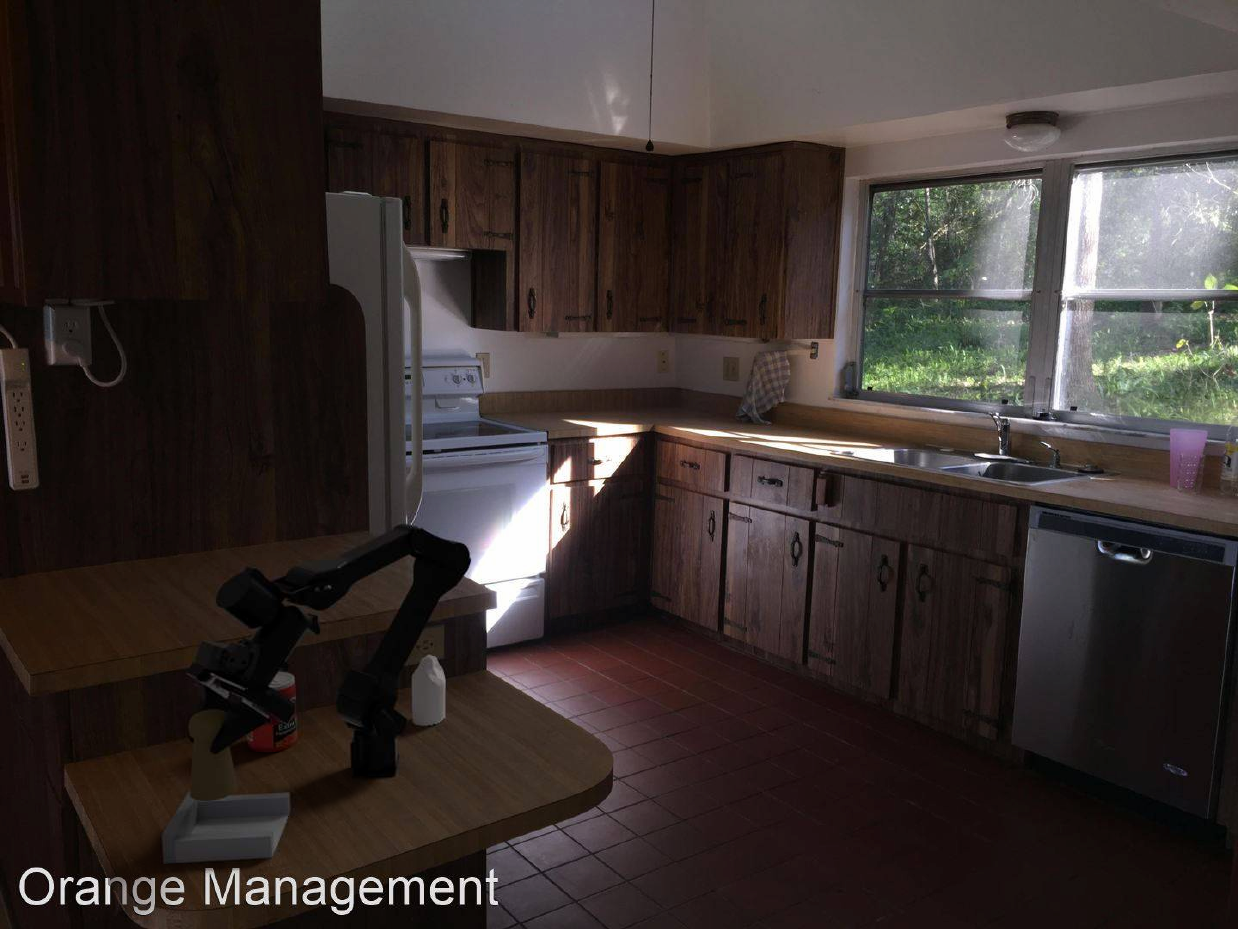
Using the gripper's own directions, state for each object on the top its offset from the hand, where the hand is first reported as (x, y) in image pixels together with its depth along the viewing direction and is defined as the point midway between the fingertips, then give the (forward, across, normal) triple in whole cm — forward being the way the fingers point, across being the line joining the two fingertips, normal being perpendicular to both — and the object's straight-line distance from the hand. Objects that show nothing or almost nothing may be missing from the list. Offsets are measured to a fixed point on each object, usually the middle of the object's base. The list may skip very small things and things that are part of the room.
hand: (201, 747), depth 134 cm
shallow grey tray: (+7, +2, +11) cm, 14 cm away
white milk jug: (-22, -8, +42) cm, 48 cm away
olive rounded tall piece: (+4, 0, +6) cm, 7 cm away
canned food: (-6, -20, +26) cm, 34 cm away
